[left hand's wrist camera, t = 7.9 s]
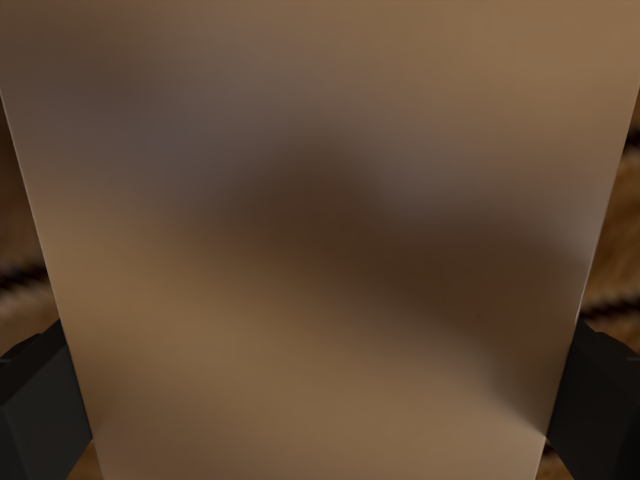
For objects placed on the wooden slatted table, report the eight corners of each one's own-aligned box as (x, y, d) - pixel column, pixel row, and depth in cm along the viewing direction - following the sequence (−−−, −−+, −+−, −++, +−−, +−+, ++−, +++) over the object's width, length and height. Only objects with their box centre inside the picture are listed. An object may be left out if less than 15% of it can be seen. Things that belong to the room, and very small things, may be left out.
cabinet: (162, -139, 14) (-222, -713, 4) (474, -138, 14) (855, -705, 4) (211, 305, 20) (108, 508, 10) (426, 305, 20) (529, 506, 10)
